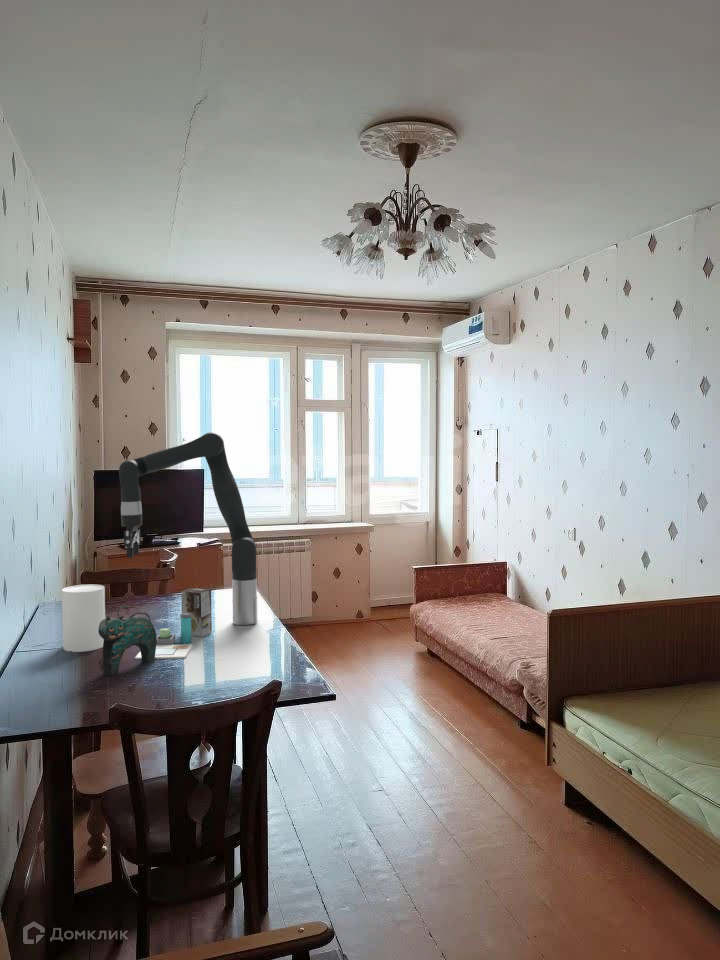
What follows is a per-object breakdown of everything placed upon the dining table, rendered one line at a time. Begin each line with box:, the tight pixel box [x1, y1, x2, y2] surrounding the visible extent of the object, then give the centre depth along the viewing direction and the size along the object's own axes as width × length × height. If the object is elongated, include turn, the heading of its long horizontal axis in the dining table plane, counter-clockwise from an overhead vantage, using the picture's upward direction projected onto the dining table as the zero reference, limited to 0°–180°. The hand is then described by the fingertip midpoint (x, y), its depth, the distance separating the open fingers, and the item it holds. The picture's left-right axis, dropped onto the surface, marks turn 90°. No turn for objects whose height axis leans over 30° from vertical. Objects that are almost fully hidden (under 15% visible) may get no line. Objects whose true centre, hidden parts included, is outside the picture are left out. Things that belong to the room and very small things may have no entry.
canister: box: [61, 583, 106, 653], centre depth 242 cm, size 14×14×20 cm
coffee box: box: [180, 587, 213, 638], centre depth 258 cm, size 9×6×16 cm
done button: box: [158, 627, 171, 639], centre depth 245 cm, size 4×4×3 cm
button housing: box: [156, 634, 176, 645], centre depth 245 cm, size 6×6×2 cm
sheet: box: [134, 643, 194, 661], centre depth 235 cm, size 16×14×1 cm
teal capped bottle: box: [179, 612, 192, 645], centre depth 247 cm, size 4×4×10 cm
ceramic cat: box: [98, 604, 157, 677], centre depth 219 cm, size 20×6×20 cm, turn 148°
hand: (132, 556), depth 267 cm, fingers open, 8 cm apart
